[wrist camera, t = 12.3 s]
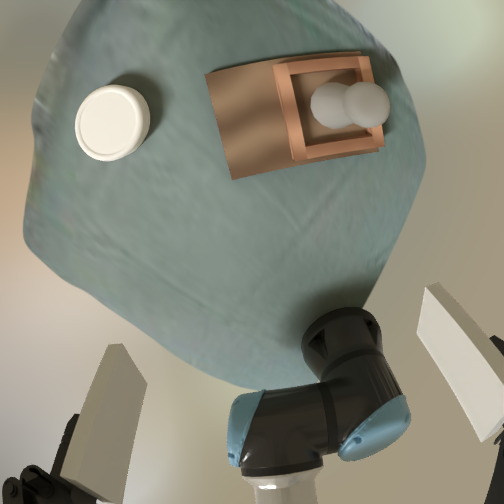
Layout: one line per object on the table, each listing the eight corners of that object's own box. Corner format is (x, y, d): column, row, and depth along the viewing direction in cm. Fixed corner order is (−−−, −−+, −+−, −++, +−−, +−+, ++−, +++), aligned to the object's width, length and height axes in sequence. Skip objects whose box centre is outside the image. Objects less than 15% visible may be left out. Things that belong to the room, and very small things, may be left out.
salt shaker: (355, 94, 32) (409, 91, 20) (342, 134, 34) (390, 147, 22) (313, 77, 31) (352, 61, 19) (300, 118, 33) (332, 121, 21)
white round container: (140, 74, 31) (131, 71, 27) (160, 142, 35) (153, 145, 32) (78, 105, 31) (65, 105, 28) (98, 167, 36) (86, 173, 33)
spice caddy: (374, 149, 36) (385, 153, 33) (232, 177, 38) (231, 183, 34) (356, 53, 30) (366, 48, 27) (205, 75, 31) (202, 72, 28)
